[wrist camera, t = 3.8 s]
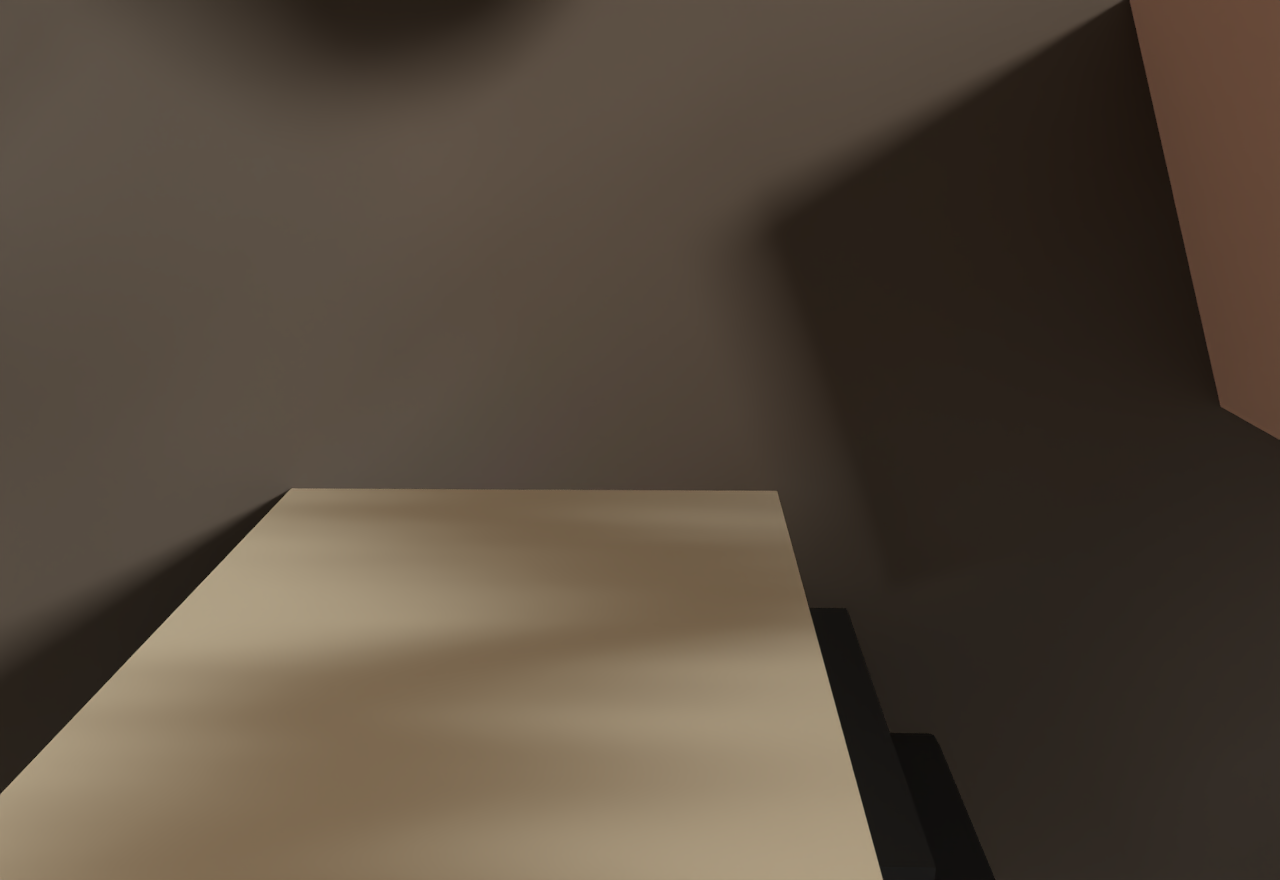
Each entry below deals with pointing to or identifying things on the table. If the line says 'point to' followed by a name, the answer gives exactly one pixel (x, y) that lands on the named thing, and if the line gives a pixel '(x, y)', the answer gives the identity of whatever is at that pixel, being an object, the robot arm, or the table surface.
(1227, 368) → the terracotta cube
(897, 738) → the robot arm
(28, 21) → the table surface
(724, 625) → the beech block
